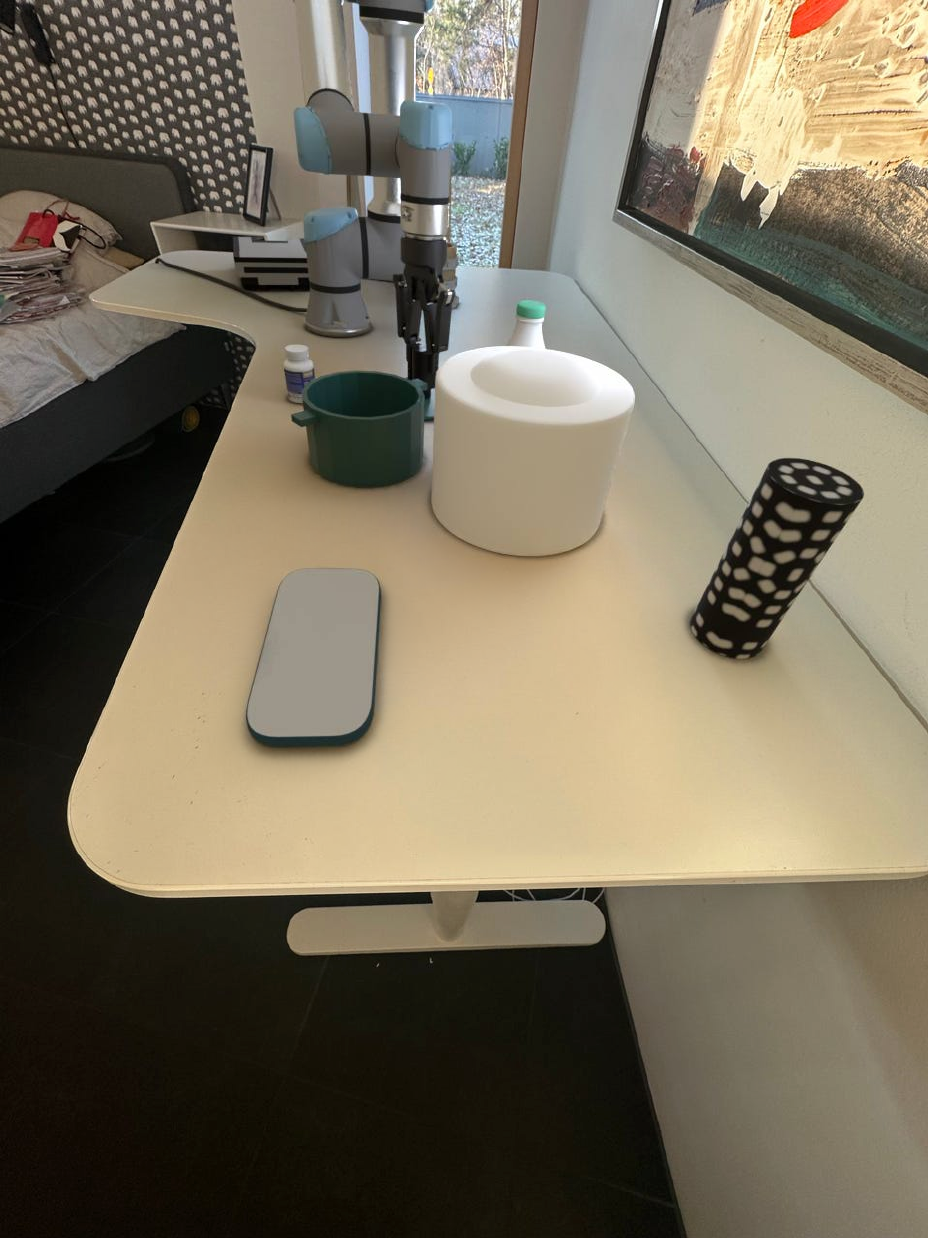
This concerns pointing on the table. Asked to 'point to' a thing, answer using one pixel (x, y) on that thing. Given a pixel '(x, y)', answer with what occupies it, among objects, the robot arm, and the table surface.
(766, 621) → the white-spotted black cylinder
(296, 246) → the game console
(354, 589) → the external hard drive
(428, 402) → the lid
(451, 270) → the tankard
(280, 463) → the table surface
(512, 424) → the container
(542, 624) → the table surface
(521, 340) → the milk bottle
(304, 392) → the pot
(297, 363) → the pill bottle
